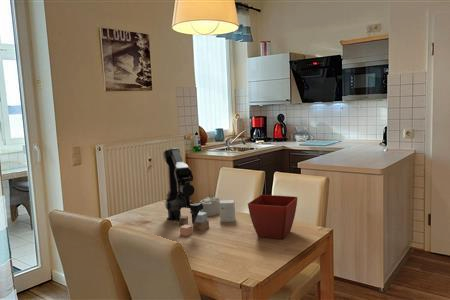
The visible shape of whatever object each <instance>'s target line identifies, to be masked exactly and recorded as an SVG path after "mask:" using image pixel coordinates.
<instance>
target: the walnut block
mask: <svg viewBox="0 0 450 300" xmlns="http://www.w3.org/2000/svg"><path fill="white" fill-rule="evenodd" d="M183 225H189V216H188V215H181V216H180V220H179V222H178V226H183Z"/></svg>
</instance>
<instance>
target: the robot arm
mask: <svg viewBox="0 0 450 300" xmlns="http://www.w3.org/2000/svg"><path fill="white" fill-rule="evenodd" d="M162 155H163V159H164V162H165V163H166V164H167V171H168V186H169V187H168V188H169V189H168V192H167V194H166V199H165V202H164V205H165V209H166V210H167V217H166V220H170V221H177V222H178V223H179V220H180V216H182V213H181V209H184V208H185V209H189V210H190V211H189V213H190V214H191V223H192V225H193V224H194V223H195V220H196V217H197V215H198V213H199V212H200V211H201V210H202V209H203V204H202V203H200V202H195V203H193V201H192V200H191V196H193V195H194V194H195V186H194V185H192V183H191V182H193V181H194V174H193V171H192V169H191V168H190V167H189V165H188V164H187V163H185V162H184V161H183V157H182V156H181V150H180V148H178V147H172V148H169V149H166V150H165V151H163V153H162ZM192 203H193V204H192Z"/></svg>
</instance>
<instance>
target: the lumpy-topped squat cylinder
mask: <svg viewBox="0 0 450 300" xmlns="http://www.w3.org/2000/svg"><path fill="white" fill-rule="evenodd" d="M220 201H223V199H222V198H219V197H216V196H213V197H209V196H207V197H205V198H203V199H201V200H200V201H199V203H202V204H203V209H202V210H201V211H199V212H205V213H207V217H211V216H217V215H220V207H219V203H220Z"/></svg>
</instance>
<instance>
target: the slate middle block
mask: <svg viewBox="0 0 450 300" xmlns="http://www.w3.org/2000/svg"><path fill="white" fill-rule="evenodd" d="M207 220H208V216H207V213H205V212H200V211H199V213H198V215H197V217H196V220H195V222H198V223H203V222H205V221H207Z"/></svg>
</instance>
